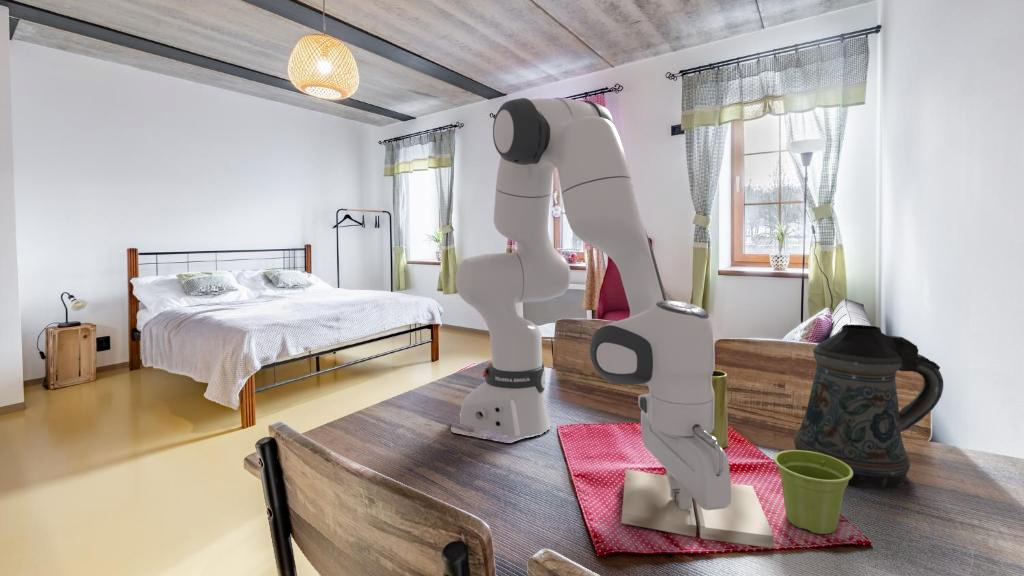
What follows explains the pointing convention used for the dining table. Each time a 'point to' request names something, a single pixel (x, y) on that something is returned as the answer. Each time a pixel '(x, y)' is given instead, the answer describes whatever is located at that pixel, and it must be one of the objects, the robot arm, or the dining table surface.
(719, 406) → the vase
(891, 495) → the dining table surface
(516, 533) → the dining table surface
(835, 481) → the plant pot
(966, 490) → the dining table surface
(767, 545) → the board
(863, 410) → the beer stein
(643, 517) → the loose plank
